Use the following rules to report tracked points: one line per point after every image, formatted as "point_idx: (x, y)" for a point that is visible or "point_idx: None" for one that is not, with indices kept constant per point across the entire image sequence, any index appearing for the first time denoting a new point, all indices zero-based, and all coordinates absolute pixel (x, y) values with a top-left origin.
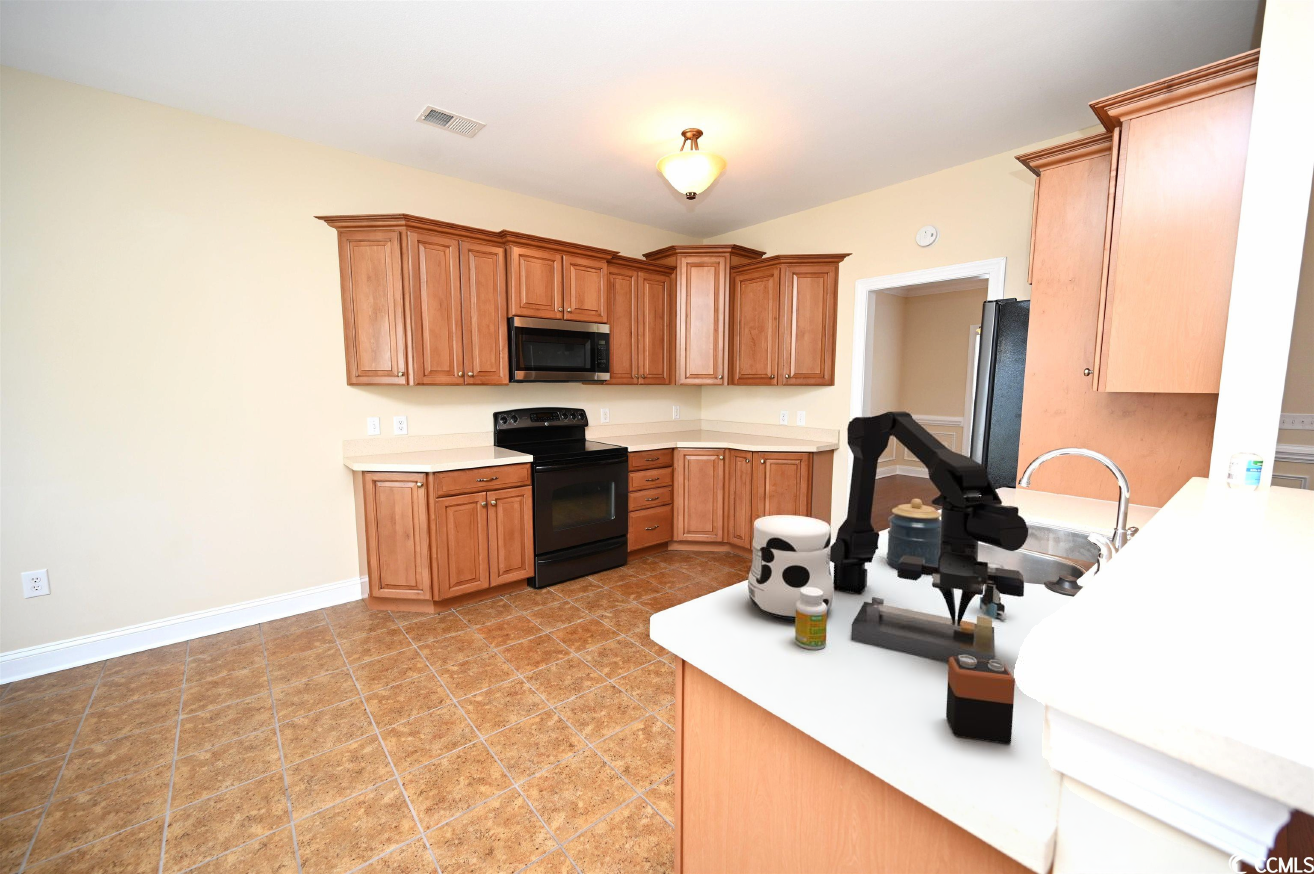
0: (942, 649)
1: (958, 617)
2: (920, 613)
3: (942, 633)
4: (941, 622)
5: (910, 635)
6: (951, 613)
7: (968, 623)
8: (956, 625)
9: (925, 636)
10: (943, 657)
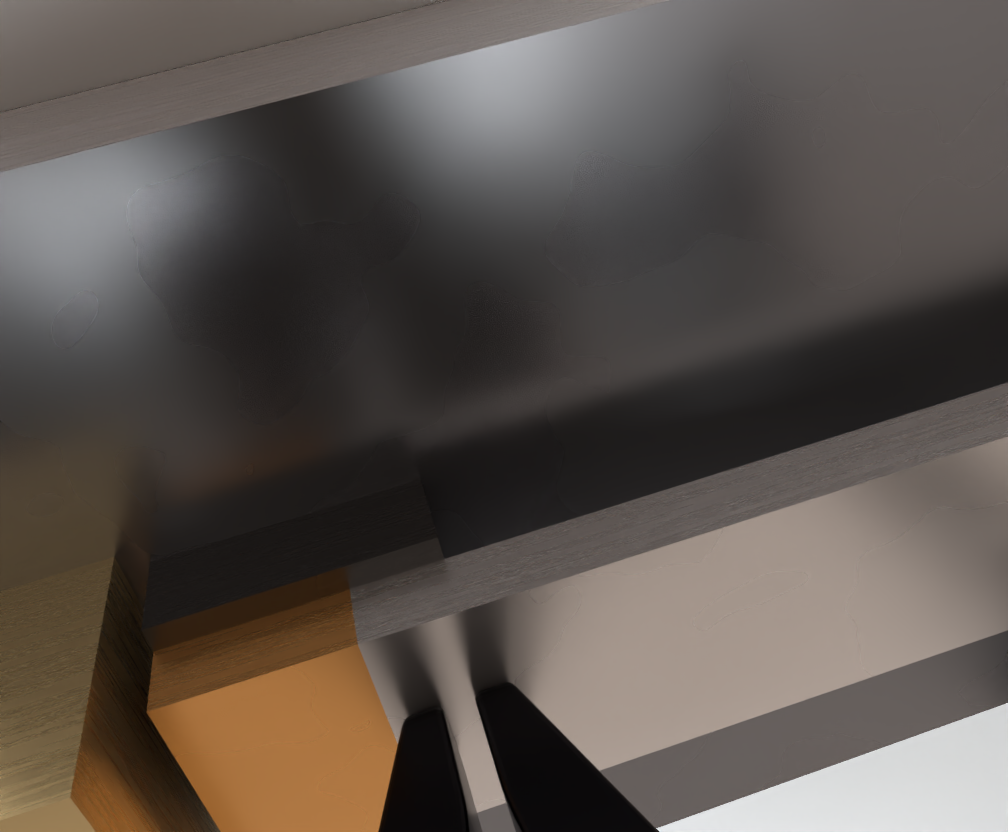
0: (439, 44)
1: (443, 789)
2: (958, 607)
3: (568, 451)
4: (651, 559)
5: (965, 4)
6: (576, 789)
7: (313, 815)
8: (427, 633)
9: (755, 157)
10: (398, 27)
